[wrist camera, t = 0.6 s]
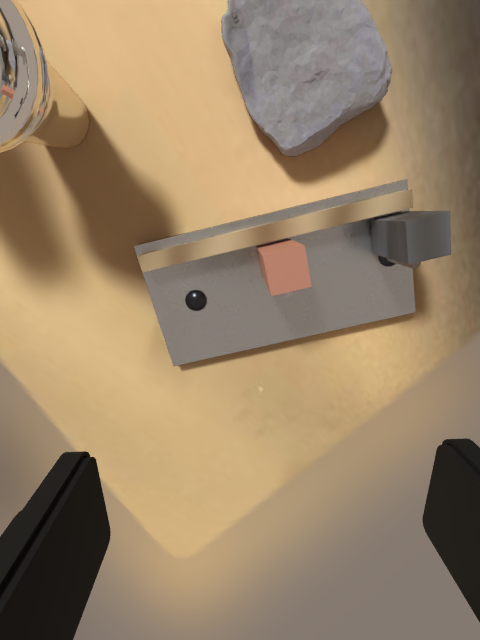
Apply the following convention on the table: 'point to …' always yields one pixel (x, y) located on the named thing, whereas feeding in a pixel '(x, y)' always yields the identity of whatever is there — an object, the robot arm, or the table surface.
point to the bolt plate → (278, 311)
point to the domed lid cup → (34, 89)
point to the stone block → (305, 66)
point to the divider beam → (387, 232)
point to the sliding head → (284, 267)
